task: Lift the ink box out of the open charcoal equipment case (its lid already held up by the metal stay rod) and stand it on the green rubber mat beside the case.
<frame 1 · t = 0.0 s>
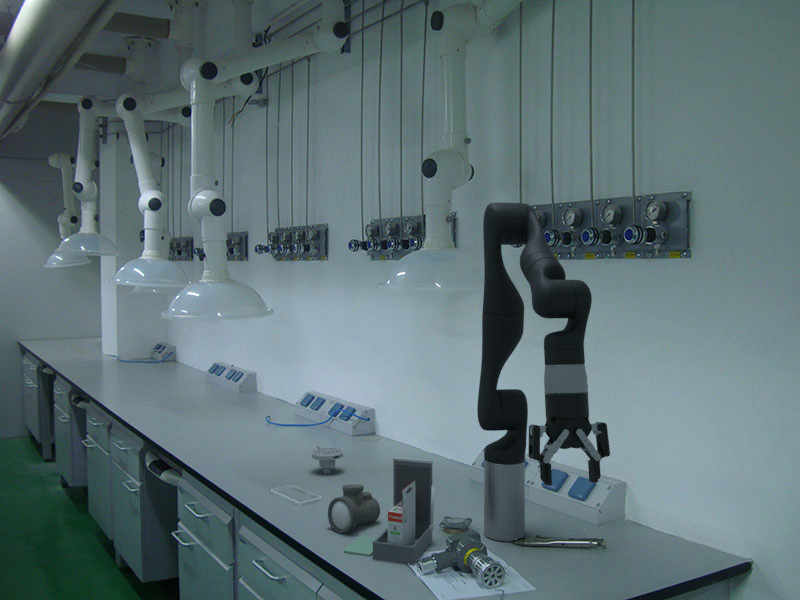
hand: (570, 483, 119), 22 cm above the worktop, tool pointing down, fingers open, 8 cm apart
phone case: (295, 498, 183), on the worktop
pipe fitting: (356, 527, 161), on the worktop
case: (401, 551, 145), on the worktop
showerhead: (326, 473, 206), on the worktop
ink box: (401, 552, 145), resting in case
mat: (364, 546, 148), on the worktop
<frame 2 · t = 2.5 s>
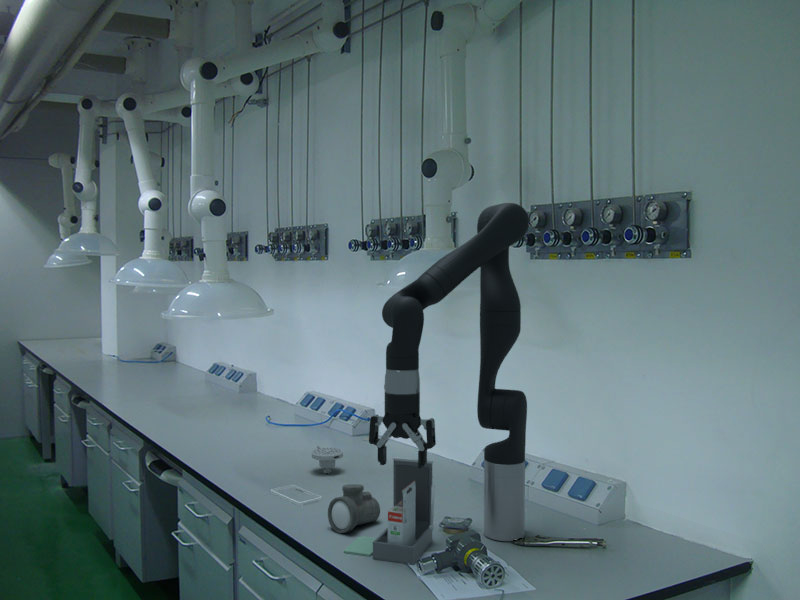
hand: (401, 465, 145), 19 cm above the worktop, tool pointing down, fingers open, 8 cm apart
nothing on the worktop moved.
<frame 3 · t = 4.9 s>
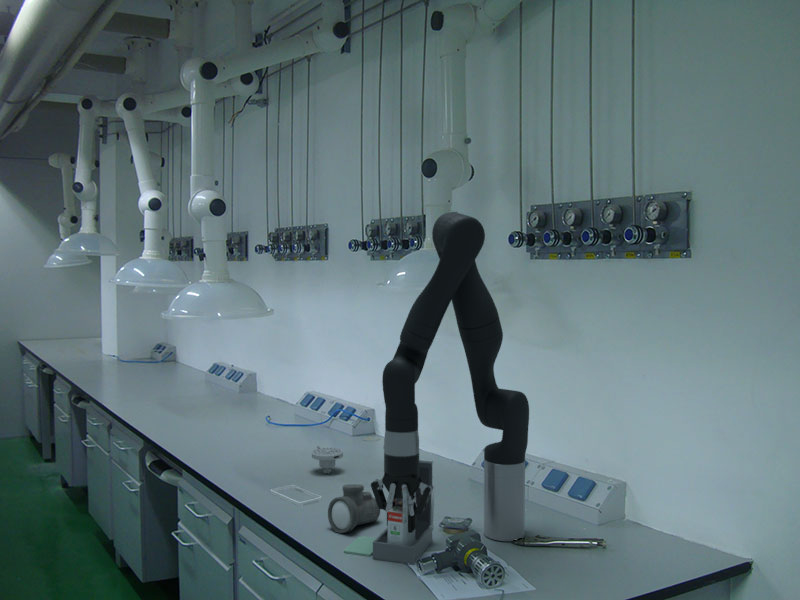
hand: (401, 529, 145), 5 cm above the worktop, tool pointing down, fingers closed on ink box, 3 cm apart
ink box: (401, 552, 145), resting in case, touching gripper
everything else where it was.
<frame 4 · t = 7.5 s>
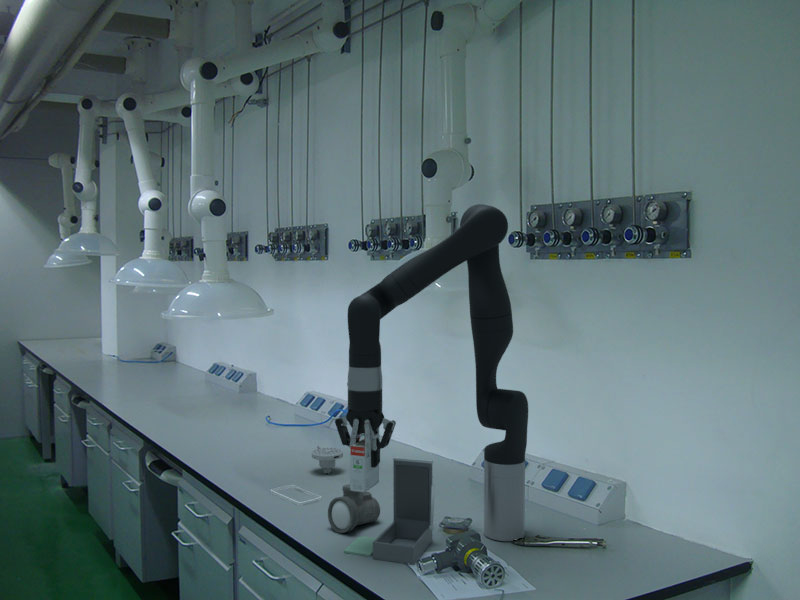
hand: (365, 465, 147), 18 cm above the worktop, tool pointing down, fingers closed on ink box, 3 cm apart
ink box: (365, 488, 147), point 13 cm above the worktop, touching gripper
everything else where it was.
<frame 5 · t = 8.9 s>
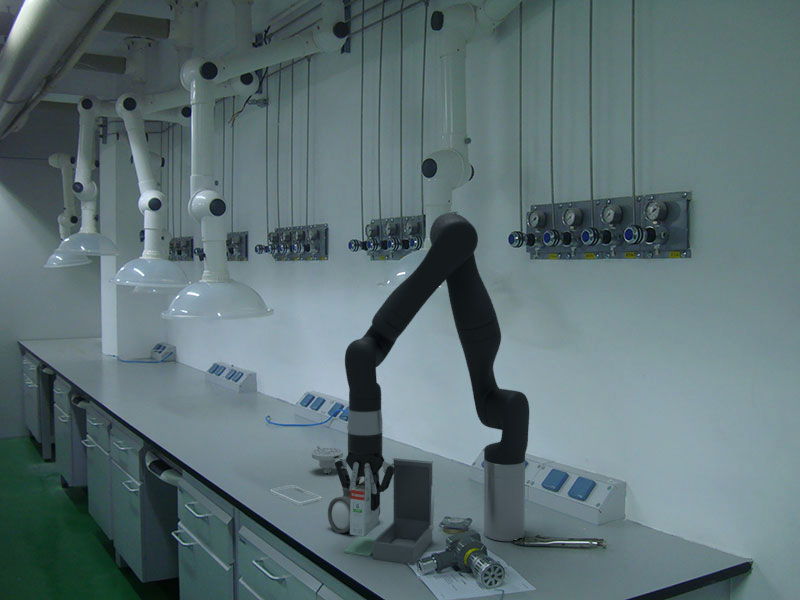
hand: (365, 508, 147), 9 cm above the worktop, tool pointing down, fingers closed on ink box, 3 cm apart
ink box: (364, 531, 147), point 4 cm above the worktop, touching gripper
everything else where it was.
when the fingers open (5 cm above the worktop, at t = 10.3 s): ink box stays where it is, resting on mat.
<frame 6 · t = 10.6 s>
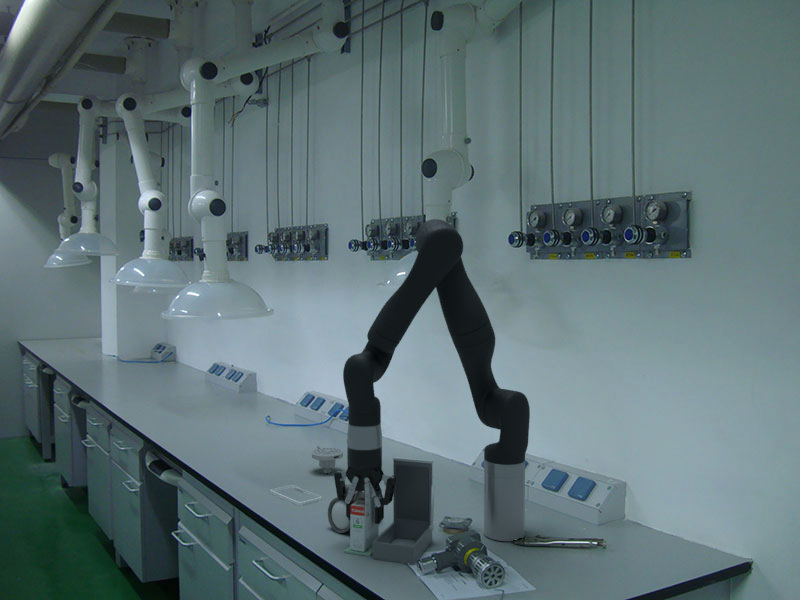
hand: (364, 520, 148), 6 cm above the worktop, tool pointing down, fingers open, 5 cm apart
ink box: (364, 545, 148), resting on mat
everything else where it was.
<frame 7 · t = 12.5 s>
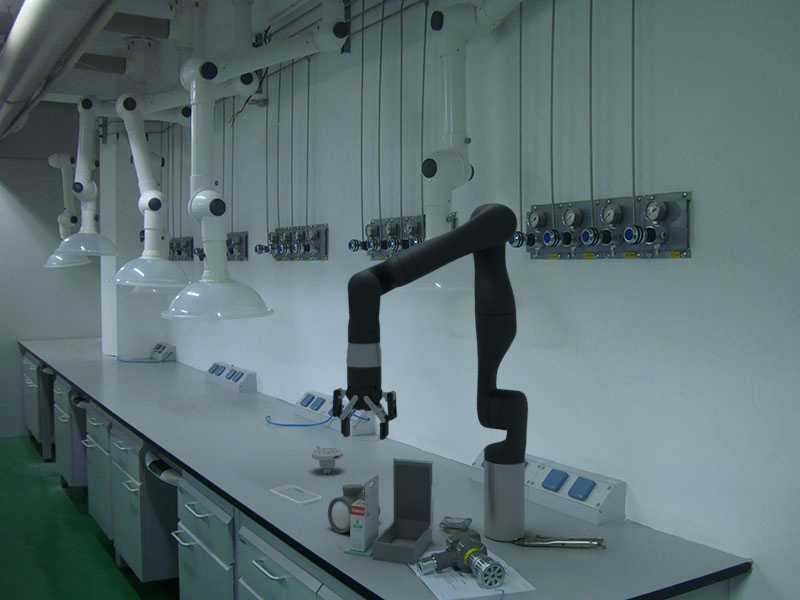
hand: (364, 437, 148), 24 cm above the worktop, tool pointing down, fingers open, 8 cm apart
nothing on the worktop moved.
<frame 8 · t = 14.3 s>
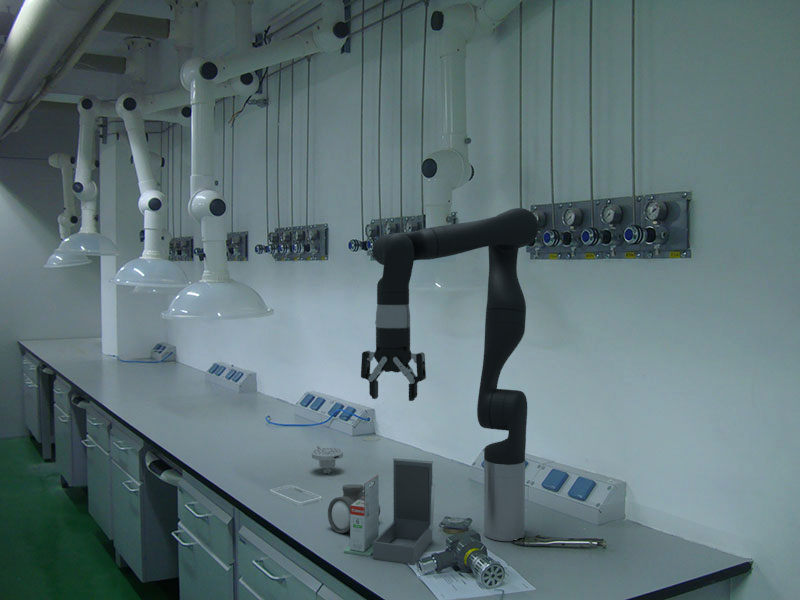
hand: (393, 399, 148), 32 cm above the worktop, tool pointing down, fingers open, 8 cm apart
nothing on the worktop moved.
at the end: ink box inside the target area on the mat (0.1 cm from its centre), point 0.2 cm above the mat's base; ink box tilted 0°; the gripper is holding nothing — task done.
